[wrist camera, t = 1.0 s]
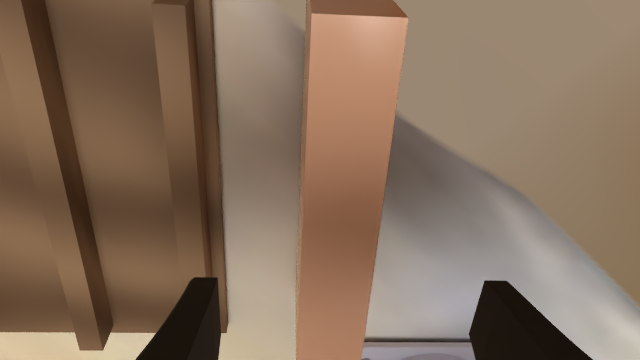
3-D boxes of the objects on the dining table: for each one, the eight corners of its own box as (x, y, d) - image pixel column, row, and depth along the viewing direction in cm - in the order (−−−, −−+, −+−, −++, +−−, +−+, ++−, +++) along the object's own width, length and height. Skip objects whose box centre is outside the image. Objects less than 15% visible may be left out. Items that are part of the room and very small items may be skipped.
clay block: (347, 291, 24) (358, 378, 20) (295, 290, 24) (295, 378, 20) (379, -15, 17) (408, 17, 13) (307, -18, 17) (311, 13, 13)
